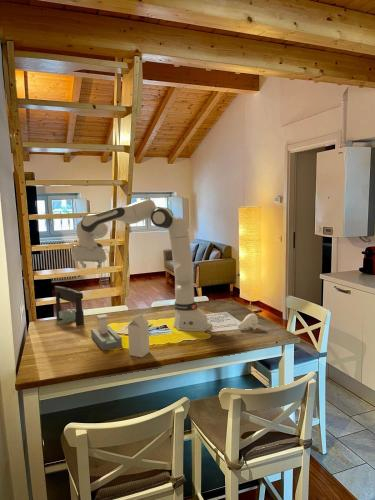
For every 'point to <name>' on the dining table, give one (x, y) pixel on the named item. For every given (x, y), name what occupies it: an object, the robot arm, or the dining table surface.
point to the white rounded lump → (249, 322)
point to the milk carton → (138, 336)
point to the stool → (67, 314)
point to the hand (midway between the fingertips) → (92, 267)
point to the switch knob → (102, 324)
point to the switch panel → (106, 339)
